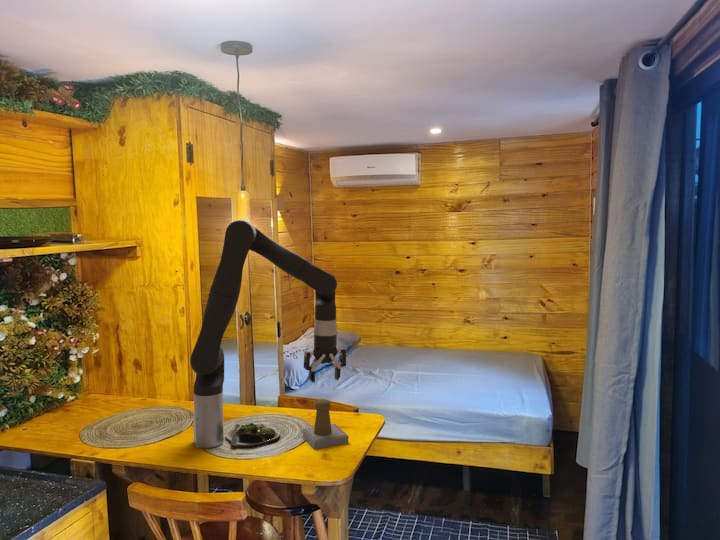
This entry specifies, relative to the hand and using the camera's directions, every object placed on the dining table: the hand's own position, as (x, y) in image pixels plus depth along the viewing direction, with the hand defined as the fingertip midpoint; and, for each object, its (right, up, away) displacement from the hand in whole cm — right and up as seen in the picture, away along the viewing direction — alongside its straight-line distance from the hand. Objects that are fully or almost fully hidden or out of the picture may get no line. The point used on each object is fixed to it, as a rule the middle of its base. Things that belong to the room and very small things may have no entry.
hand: (324, 380), depth 182 cm
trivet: (0, -20, +2) cm, 20 cm away
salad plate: (-25, -21, +3) cm, 32 cm away
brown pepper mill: (-1, -18, +1) cm, 18 cm away
